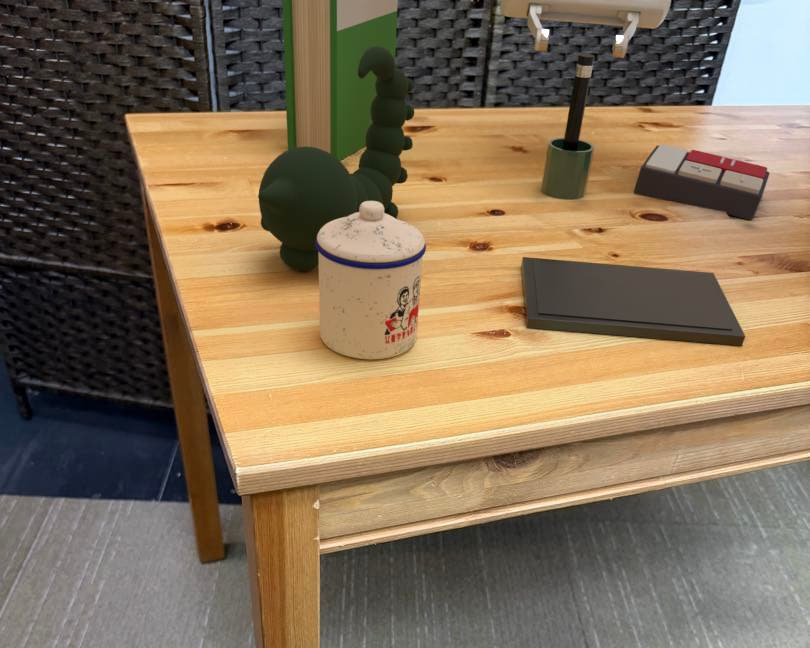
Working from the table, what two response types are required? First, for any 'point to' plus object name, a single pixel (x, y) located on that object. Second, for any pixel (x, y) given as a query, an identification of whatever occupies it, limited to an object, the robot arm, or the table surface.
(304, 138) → the hardback book
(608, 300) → the tablet
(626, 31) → the robot arm
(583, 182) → the pen cup
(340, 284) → the teacup with lid
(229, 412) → the table surface
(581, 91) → the stylus
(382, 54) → the toy figurine
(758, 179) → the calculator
